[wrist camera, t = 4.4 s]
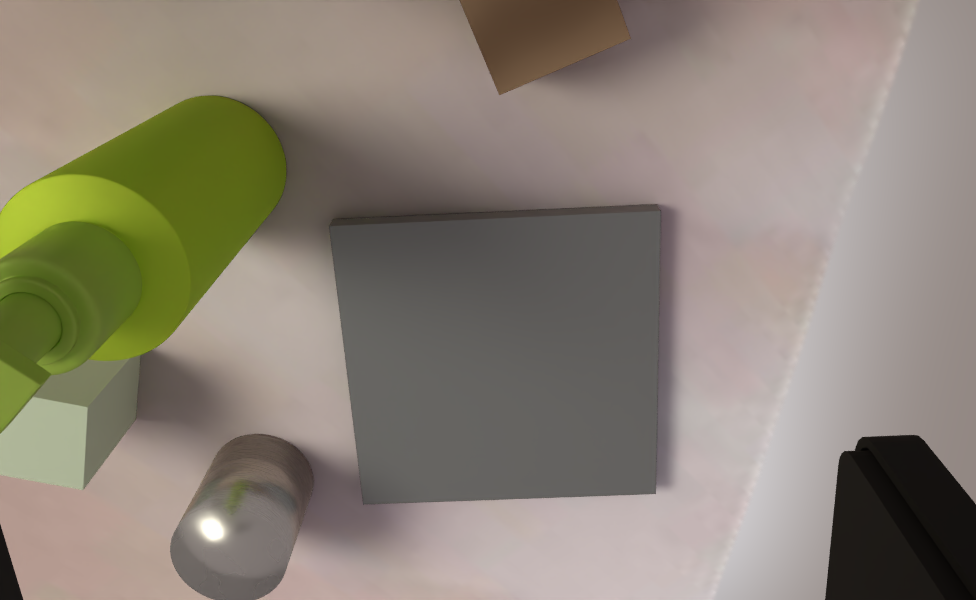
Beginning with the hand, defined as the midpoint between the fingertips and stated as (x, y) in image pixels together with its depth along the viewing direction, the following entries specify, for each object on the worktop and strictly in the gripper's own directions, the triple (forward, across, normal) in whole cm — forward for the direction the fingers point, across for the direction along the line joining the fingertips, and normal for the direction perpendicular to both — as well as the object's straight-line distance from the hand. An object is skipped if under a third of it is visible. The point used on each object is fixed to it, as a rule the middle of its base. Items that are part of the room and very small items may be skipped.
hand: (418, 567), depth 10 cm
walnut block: (+30, -2, -4) cm, 30 cm away
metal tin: (+30, +12, +18) cm, 37 cm away
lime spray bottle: (+30, +12, +2) cm, 32 cm away
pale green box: (+30, +19, +12) cm, 37 cm away
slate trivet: (+30, 0, +12) cm, 32 cm away
